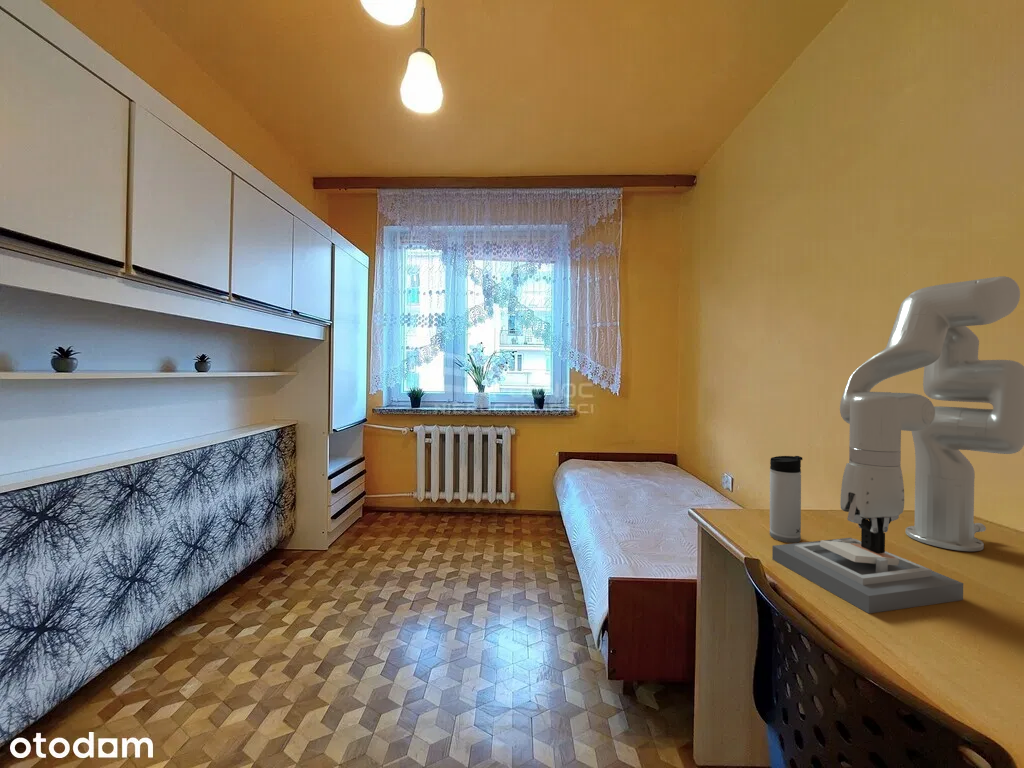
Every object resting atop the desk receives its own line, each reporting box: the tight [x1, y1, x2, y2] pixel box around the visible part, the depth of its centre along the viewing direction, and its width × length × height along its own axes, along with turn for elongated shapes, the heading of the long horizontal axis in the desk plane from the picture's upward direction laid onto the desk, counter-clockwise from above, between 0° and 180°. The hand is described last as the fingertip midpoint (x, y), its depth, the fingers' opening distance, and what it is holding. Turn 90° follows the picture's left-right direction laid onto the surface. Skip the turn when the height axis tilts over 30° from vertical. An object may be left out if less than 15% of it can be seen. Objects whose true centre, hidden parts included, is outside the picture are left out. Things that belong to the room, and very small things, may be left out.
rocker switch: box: [820, 539, 899, 566], centre depth 79 cm, size 10×7×1 cm
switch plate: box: [771, 537, 964, 614], centre depth 79 cm, size 20×20×6 cm
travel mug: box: [769, 455, 803, 544], centre depth 98 cm, size 6×7×20 cm
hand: (872, 550), depth 80 cm, fingers closed
